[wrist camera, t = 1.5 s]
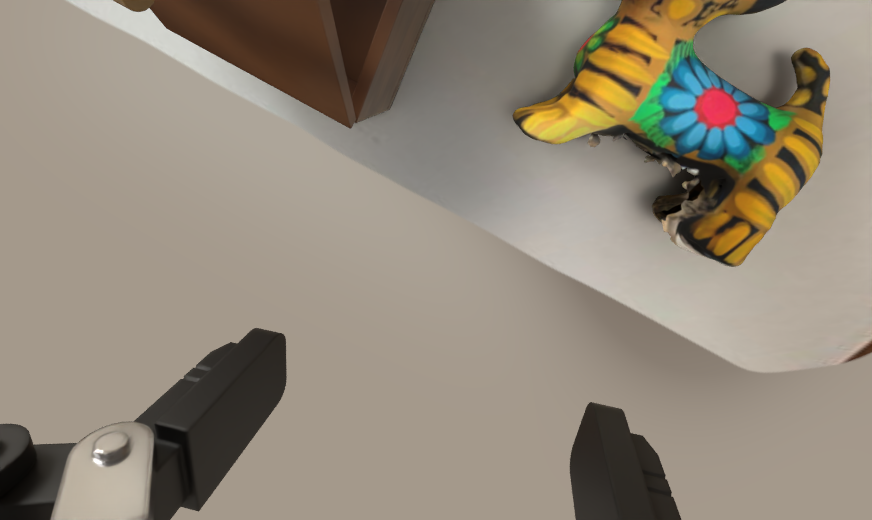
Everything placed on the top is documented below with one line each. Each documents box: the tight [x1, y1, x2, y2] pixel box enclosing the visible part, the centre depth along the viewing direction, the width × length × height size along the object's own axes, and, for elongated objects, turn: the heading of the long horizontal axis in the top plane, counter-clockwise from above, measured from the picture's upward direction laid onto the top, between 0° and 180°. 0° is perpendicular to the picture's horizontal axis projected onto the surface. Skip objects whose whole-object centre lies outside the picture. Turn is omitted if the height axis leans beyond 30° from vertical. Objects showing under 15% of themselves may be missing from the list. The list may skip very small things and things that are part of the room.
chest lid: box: [113, 0, 356, 128], centre depth 21 cm, size 17×14×5 cm
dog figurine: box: [513, 0, 830, 267], centre depth 28 cm, size 20×12×18 cm
